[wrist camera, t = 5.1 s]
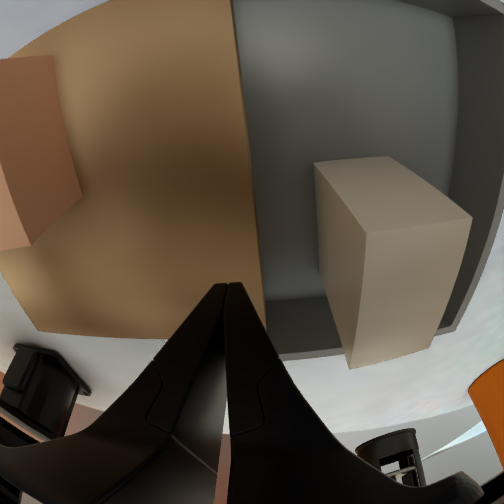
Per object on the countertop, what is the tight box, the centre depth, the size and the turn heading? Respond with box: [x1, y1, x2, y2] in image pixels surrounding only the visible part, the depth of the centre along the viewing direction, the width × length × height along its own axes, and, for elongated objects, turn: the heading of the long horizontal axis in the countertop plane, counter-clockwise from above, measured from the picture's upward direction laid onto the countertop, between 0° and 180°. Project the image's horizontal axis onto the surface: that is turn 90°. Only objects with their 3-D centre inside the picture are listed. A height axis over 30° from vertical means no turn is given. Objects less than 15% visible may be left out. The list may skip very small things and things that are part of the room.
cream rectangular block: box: [313, 156, 473, 370], centre depth 9 cm, size 5×5×3 cm
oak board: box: [0, 0, 267, 339], centre depth 9 cm, size 13×13×2 cm
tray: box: [233, 0, 504, 361], centre depth 8 cm, size 14×9×4 cm, turn 6°
